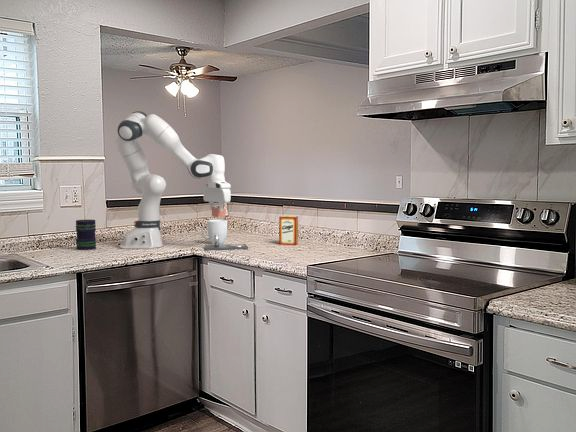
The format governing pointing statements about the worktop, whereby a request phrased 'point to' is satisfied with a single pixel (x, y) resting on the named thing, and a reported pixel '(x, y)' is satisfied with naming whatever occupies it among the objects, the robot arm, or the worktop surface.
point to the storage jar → (85, 234)
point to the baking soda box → (288, 230)
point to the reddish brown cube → (218, 212)
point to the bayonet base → (224, 247)
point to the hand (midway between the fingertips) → (216, 210)
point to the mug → (216, 230)
